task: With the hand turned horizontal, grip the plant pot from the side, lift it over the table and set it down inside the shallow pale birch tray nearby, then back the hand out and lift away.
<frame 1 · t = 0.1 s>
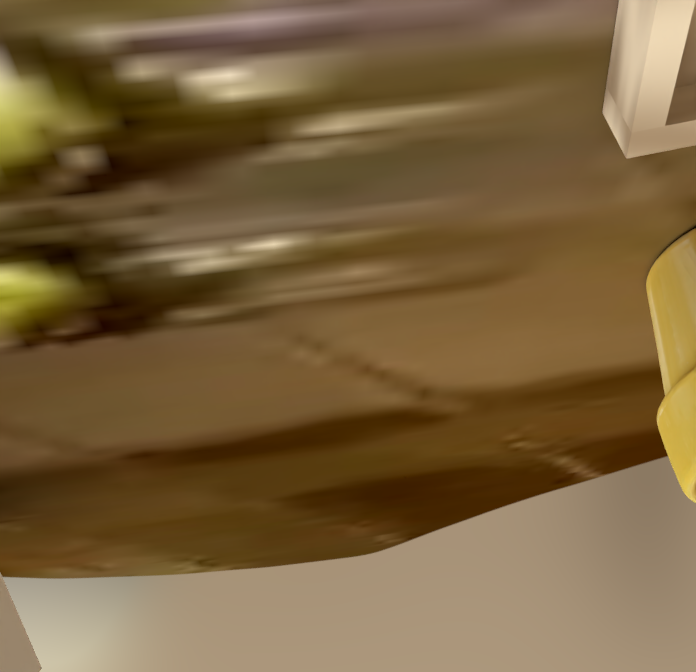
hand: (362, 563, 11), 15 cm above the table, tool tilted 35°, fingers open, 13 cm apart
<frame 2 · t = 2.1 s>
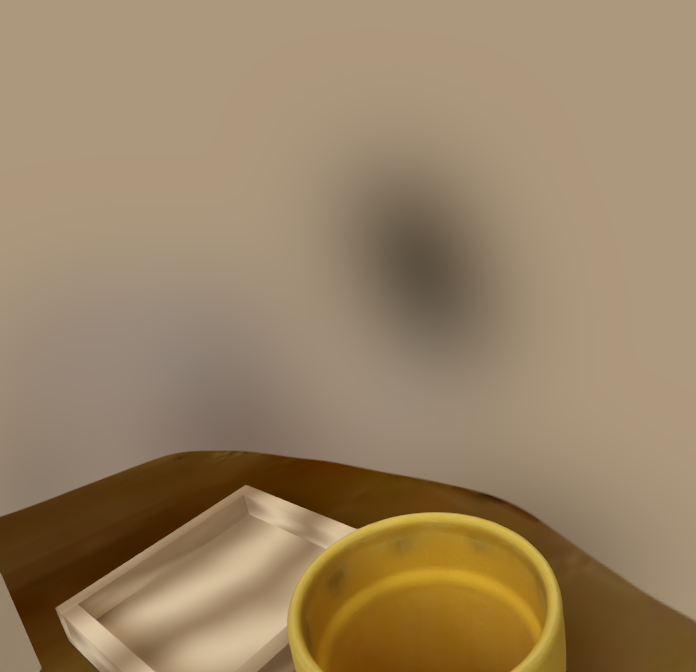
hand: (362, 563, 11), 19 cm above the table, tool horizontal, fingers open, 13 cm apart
birch tray: (234, 610, 40), on the table
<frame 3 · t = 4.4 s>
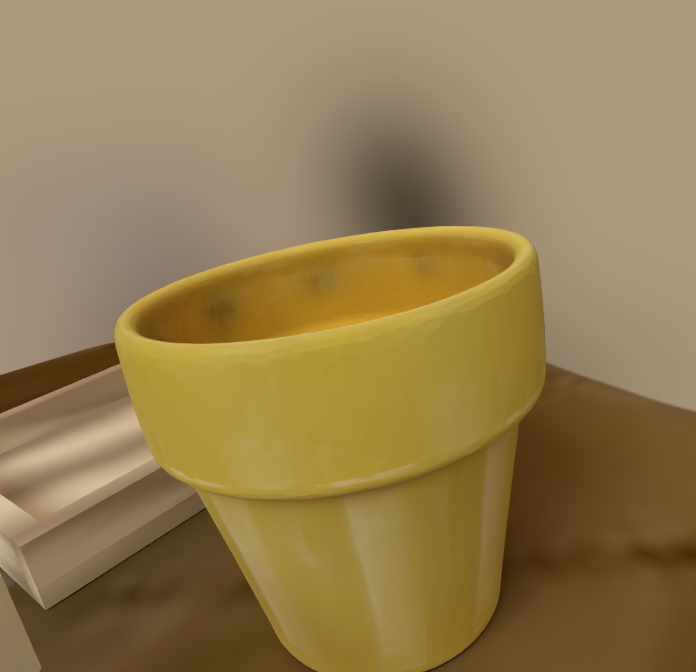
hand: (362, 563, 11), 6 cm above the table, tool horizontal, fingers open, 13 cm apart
birch tray: (136, 456, 31), on the table
plant pot: (390, 596, 19), on the table
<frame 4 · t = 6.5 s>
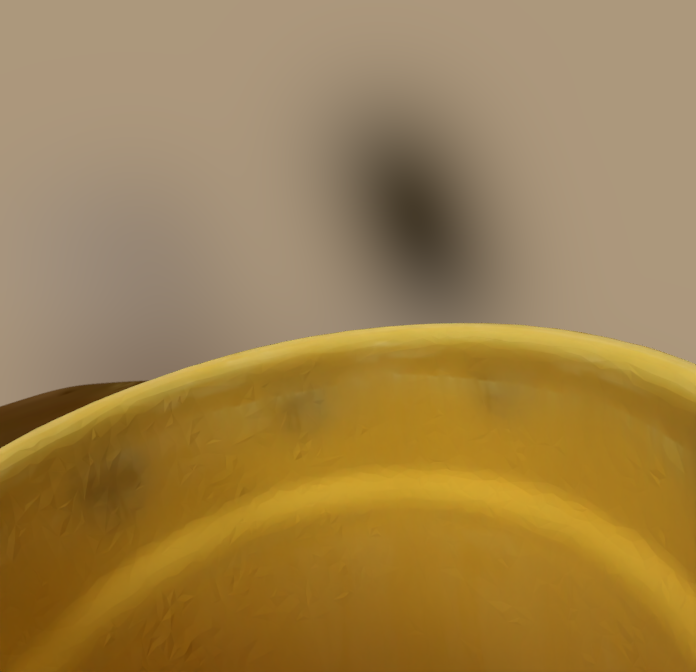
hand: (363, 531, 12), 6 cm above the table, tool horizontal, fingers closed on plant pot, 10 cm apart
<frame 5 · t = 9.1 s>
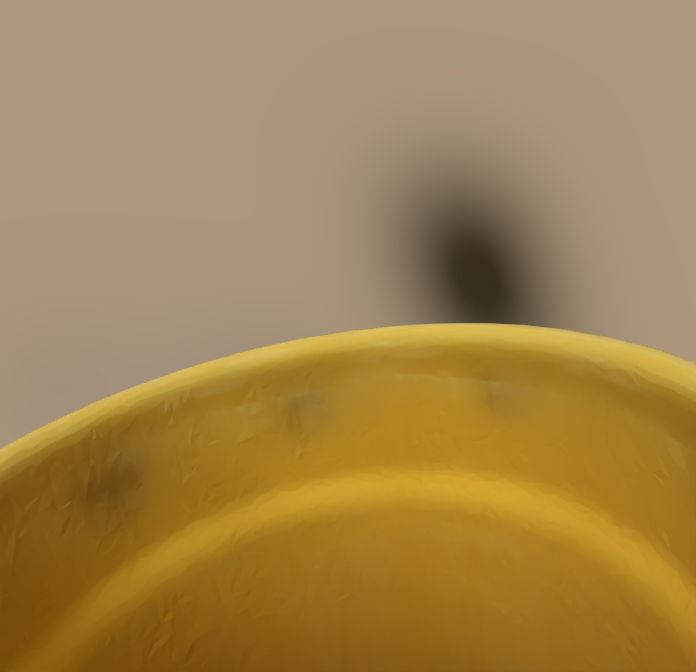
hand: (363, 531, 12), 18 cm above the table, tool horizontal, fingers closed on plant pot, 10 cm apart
when the fingers open (8 cm above the table, at t = 11.8 s): plant pot drops 1 cm, resting on birch tray.
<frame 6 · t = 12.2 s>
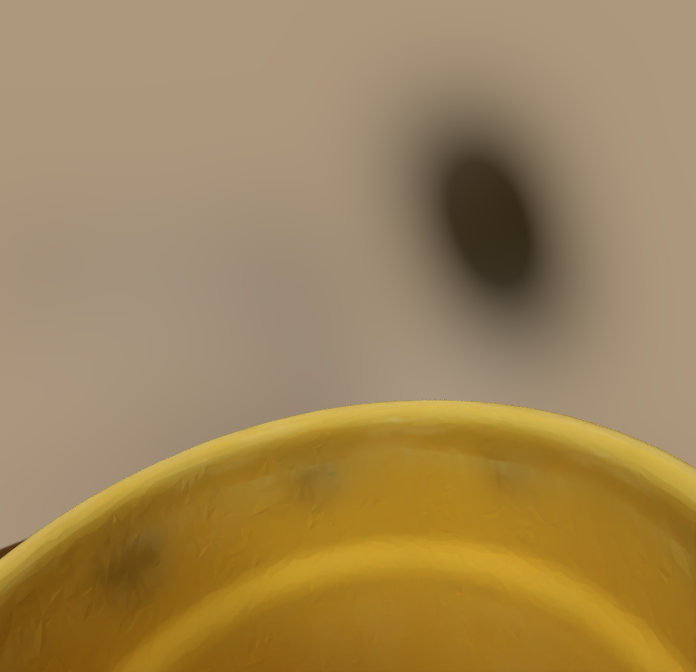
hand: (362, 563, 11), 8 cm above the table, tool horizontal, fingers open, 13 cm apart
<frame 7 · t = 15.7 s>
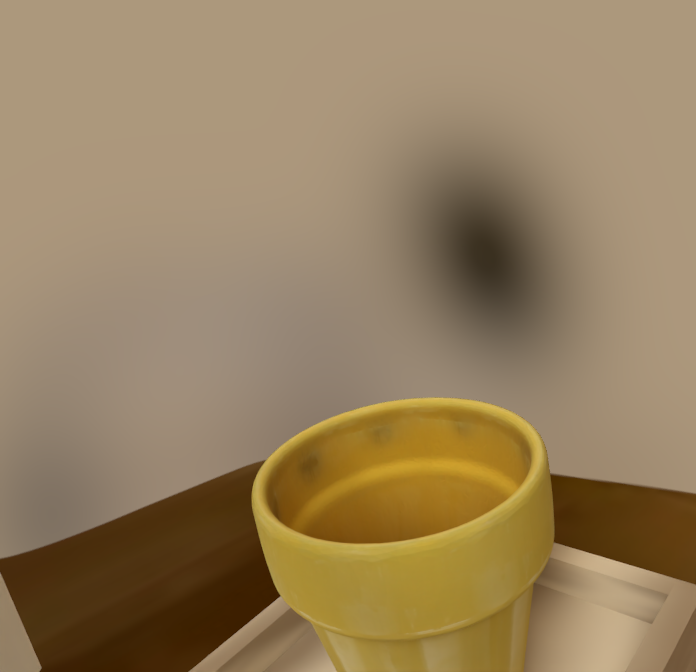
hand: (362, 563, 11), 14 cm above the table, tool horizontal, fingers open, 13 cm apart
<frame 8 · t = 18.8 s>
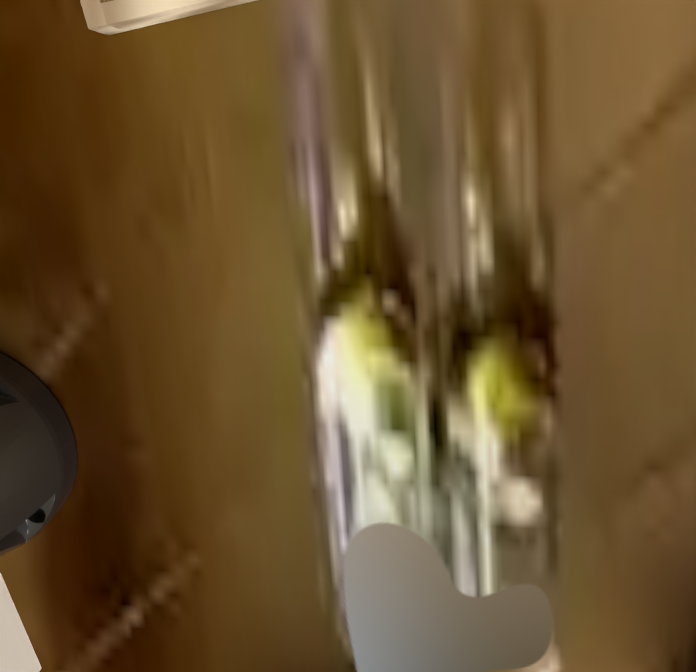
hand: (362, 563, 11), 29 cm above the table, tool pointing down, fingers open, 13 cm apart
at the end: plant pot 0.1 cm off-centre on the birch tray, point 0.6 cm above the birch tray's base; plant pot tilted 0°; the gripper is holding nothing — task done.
